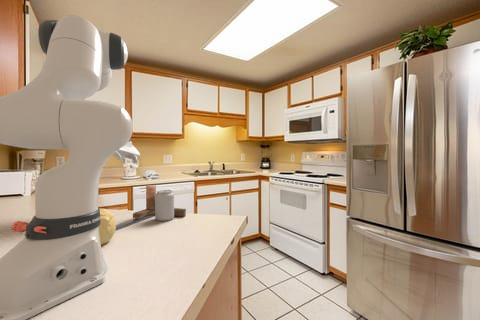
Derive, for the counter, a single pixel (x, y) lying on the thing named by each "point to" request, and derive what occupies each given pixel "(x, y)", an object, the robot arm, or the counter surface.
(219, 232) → the counter surface
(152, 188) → the brown wooden stand
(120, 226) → the rail
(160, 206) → the can
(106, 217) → the pale yellow rounded lump
